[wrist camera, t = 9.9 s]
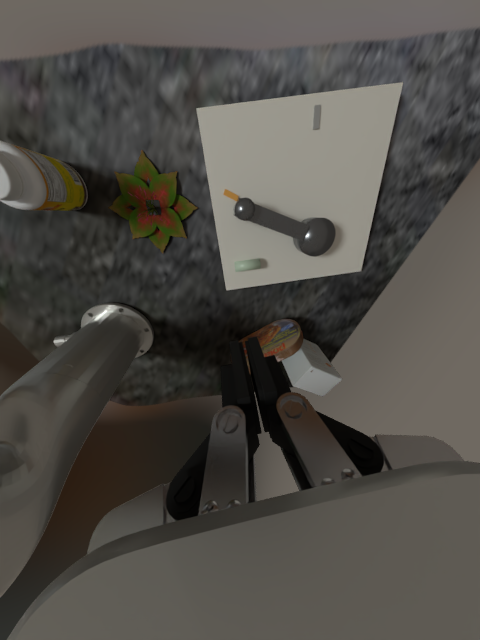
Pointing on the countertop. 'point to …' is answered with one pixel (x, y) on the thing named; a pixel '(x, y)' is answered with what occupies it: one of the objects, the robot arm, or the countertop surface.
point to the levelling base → (297, 177)
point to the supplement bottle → (38, 181)
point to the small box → (311, 370)
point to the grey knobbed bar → (290, 227)
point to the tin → (277, 339)
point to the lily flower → (159, 190)
